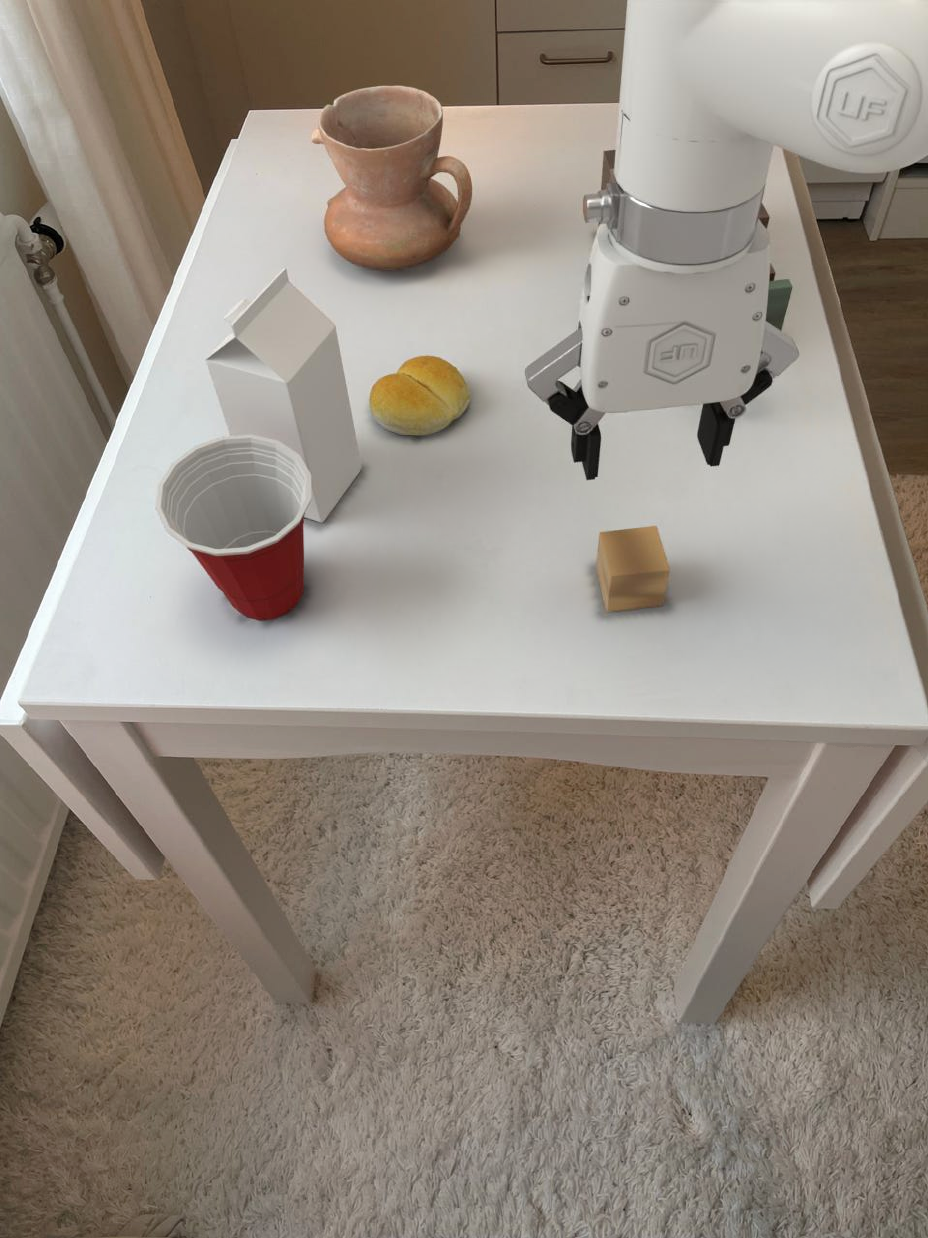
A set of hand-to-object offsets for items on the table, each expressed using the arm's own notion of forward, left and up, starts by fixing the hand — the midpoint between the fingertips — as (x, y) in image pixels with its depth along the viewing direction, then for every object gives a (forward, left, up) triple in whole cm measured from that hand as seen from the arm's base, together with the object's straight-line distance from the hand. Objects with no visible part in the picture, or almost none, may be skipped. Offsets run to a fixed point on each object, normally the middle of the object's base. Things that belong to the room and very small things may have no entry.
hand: (647, 457), depth 63 cm
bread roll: (+20, -19, -14) cm, 31 cm away
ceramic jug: (+27, -44, -14) cm, 54 cm away
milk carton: (+28, -8, -14) cm, 32 cm away
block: (0, 0, -14) cm, 14 cm away
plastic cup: (+28, +4, -14) cm, 32 cm away
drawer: (-5, -30, -13) cm, 33 cm away
